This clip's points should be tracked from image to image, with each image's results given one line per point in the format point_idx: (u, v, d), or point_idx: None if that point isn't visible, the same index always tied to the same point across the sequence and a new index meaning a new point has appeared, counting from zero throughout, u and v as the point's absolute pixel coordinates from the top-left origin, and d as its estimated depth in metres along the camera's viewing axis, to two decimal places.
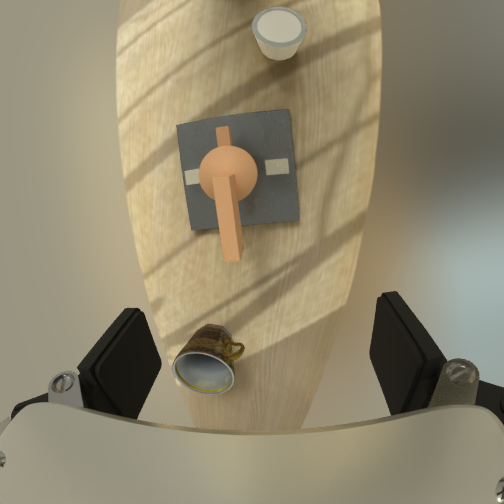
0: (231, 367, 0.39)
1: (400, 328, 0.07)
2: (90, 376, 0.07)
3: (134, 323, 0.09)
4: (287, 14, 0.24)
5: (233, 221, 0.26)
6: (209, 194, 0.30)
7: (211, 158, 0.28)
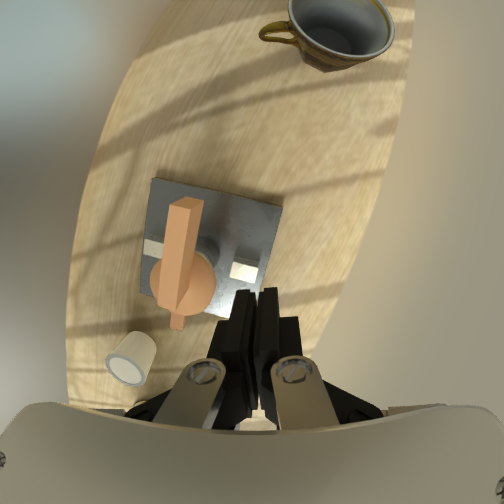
0: (288, 11, 0.16)
1: (256, 320, 0.09)
2: (234, 359, 0.07)
3: (253, 303, 0.10)
4: (118, 376, 0.35)
5: (163, 257, 0.20)
6: (206, 274, 0.25)
7: (192, 308, 0.26)
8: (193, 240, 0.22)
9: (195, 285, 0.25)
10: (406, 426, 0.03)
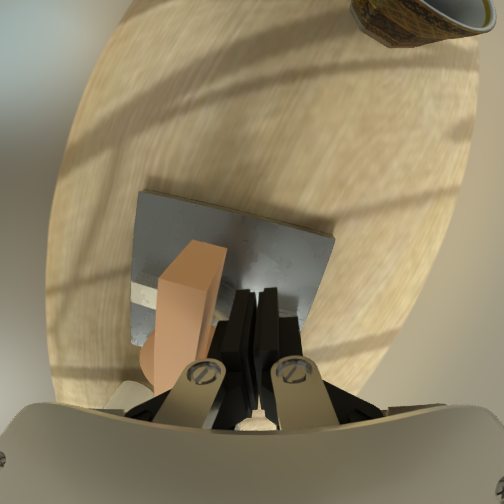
0: None
1: (256, 320, 0.09)
2: (234, 359, 0.07)
3: None
4: None
5: (156, 367, 0.10)
6: None
7: None
8: (209, 322, 0.12)
9: None
10: (406, 426, 0.03)
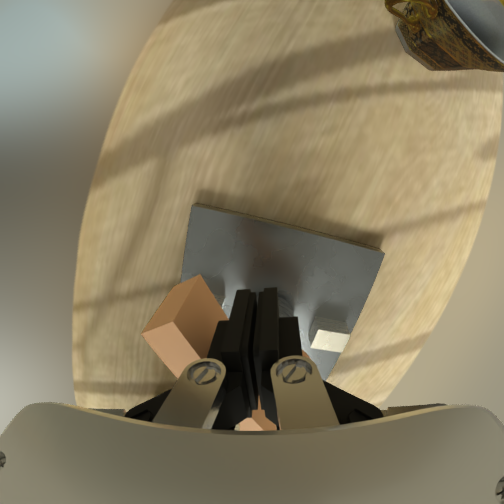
0: None
1: (256, 320, 0.09)
2: (234, 359, 0.07)
3: (253, 303, 0.10)
4: None
5: None
6: None
7: None
8: None
9: None
10: (406, 426, 0.03)
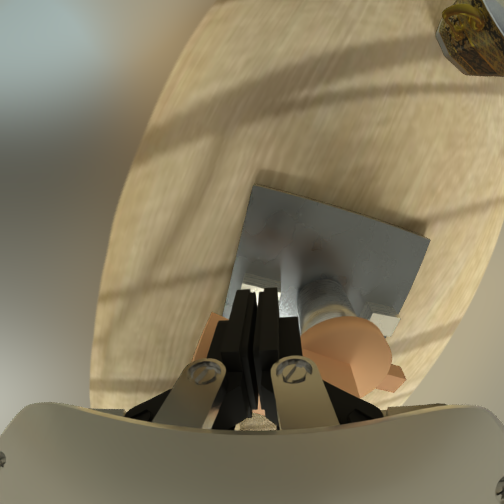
0: None
1: (256, 320, 0.09)
2: (234, 359, 0.07)
3: (253, 303, 0.10)
4: None
5: None
6: (337, 336, 0.14)
7: (381, 364, 0.14)
8: None
9: (348, 354, 0.14)
10: (406, 426, 0.03)
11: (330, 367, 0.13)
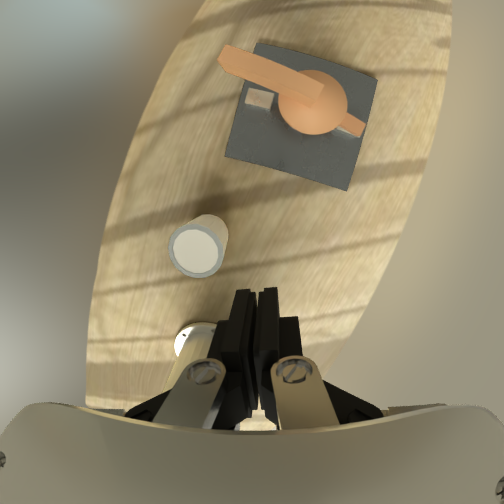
0: None
1: (256, 320, 0.09)
2: (234, 359, 0.07)
3: None
4: (182, 263, 0.32)
5: (264, 76, 0.18)
6: (304, 72, 0.21)
7: (339, 98, 0.21)
8: None
9: None
10: (406, 426, 0.03)
11: None
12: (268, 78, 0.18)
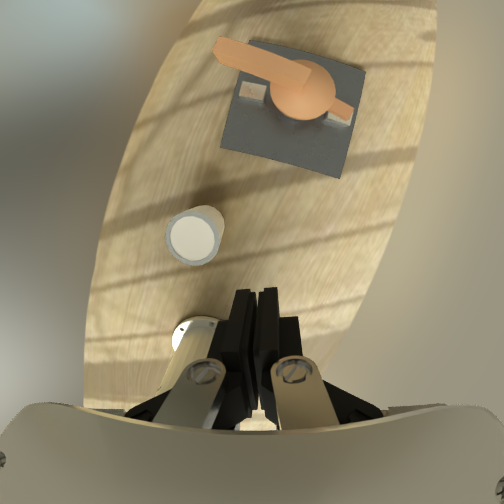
0: None
1: (256, 320, 0.09)
2: (234, 359, 0.07)
3: None
4: (179, 250, 0.32)
5: (256, 63, 0.19)
6: (294, 62, 0.21)
7: (327, 85, 0.22)
8: None
9: None
10: (406, 426, 0.03)
11: None
12: (259, 65, 0.19)
